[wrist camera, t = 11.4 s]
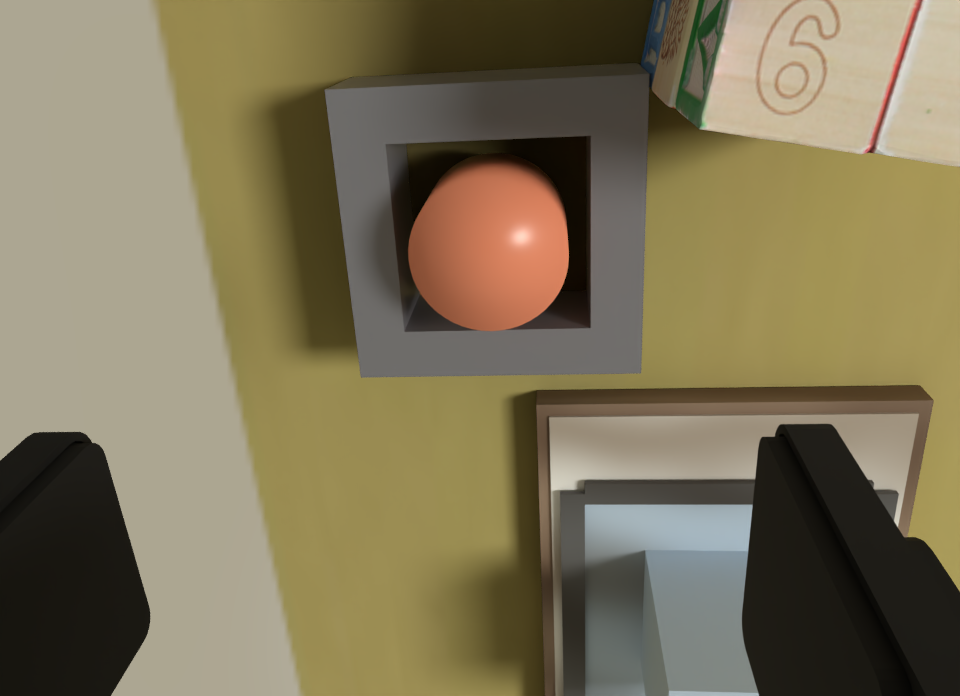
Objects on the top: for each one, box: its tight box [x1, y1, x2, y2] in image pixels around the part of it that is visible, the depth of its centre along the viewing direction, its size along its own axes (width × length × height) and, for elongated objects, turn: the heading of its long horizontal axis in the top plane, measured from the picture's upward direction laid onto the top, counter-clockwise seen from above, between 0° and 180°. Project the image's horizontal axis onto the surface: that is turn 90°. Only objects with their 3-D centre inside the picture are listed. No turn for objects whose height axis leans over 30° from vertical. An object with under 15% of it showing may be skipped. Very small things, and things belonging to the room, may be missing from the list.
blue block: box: [641, 550, 759, 696], centre depth 25 cm, size 5×5×6 cm
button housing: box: [325, 63, 650, 377], centre depth 23 cm, size 8×8×3 cm
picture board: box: [536, 386, 934, 696], centre depth 29 cm, size 16×12×1 cm
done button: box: [408, 153, 569, 331], centre depth 22 cm, size 4×4×3 cm
